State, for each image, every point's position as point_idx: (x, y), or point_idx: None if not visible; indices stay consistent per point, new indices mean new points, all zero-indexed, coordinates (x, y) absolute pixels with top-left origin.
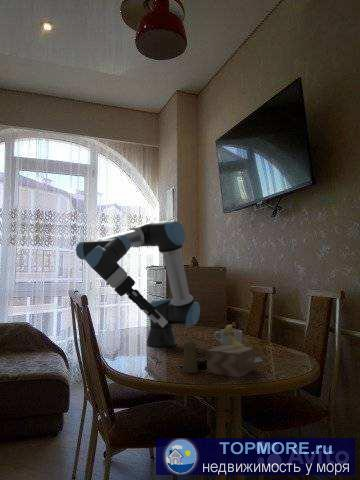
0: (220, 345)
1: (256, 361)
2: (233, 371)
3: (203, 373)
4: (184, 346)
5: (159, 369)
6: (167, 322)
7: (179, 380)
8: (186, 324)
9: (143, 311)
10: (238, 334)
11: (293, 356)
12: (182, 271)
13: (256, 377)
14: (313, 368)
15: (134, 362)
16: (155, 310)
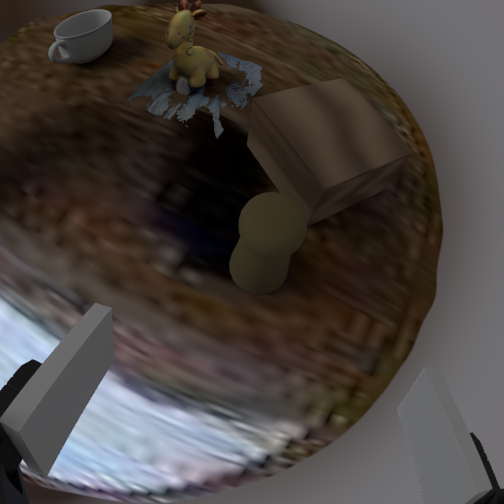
0: (266, 112)
1: (258, 76)
2: (378, 188)
3: (310, 244)
4: (282, 256)
5: (183, 355)
6: (434, 373)
7: (351, 352)
8: None
9: (45, 475)
10: (110, 20)
11: (256, 22)
12: None
13: None
14: (355, 55)
15: None
16: (483, 485)
